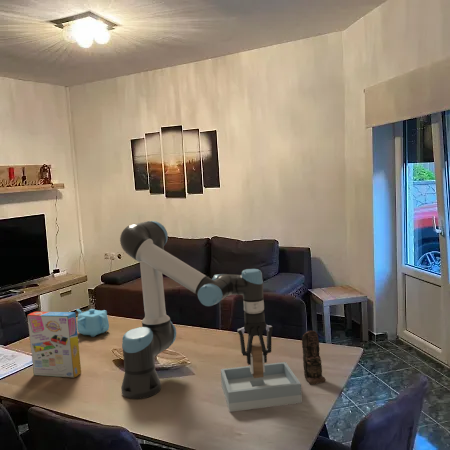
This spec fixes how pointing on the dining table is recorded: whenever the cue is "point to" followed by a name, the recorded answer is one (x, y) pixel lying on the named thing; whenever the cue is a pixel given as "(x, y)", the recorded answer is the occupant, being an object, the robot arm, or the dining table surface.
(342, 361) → the dining table surface
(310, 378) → the statue
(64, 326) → the game box
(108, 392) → the dining table surface
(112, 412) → the dining table surface
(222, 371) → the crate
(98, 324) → the teapot
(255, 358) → the peg
